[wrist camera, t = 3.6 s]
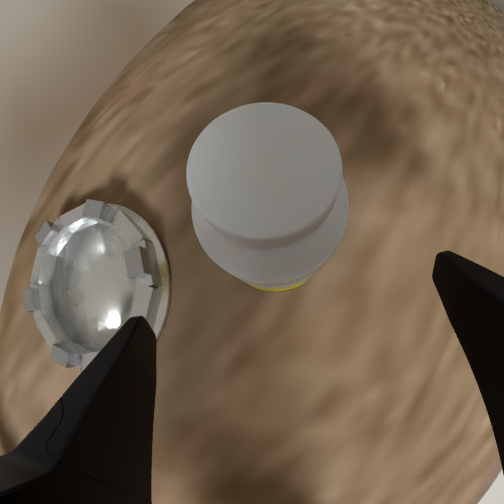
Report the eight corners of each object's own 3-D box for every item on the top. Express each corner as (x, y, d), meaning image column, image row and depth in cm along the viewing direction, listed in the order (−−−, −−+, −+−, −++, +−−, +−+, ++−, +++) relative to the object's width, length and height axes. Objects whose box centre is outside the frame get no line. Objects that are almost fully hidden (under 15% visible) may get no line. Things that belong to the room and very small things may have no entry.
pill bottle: (250, 187, 20) (214, 68, 9) (336, 218, 19) (390, 116, 8) (213, 271, 19) (123, 223, 8) (302, 308, 18) (331, 310, 7)
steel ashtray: (209, 288, 19) (195, 285, 16) (100, 403, 18) (78, 412, 15) (107, 175, 22) (87, 160, 19) (26, 284, 21) (4, 280, 18)
